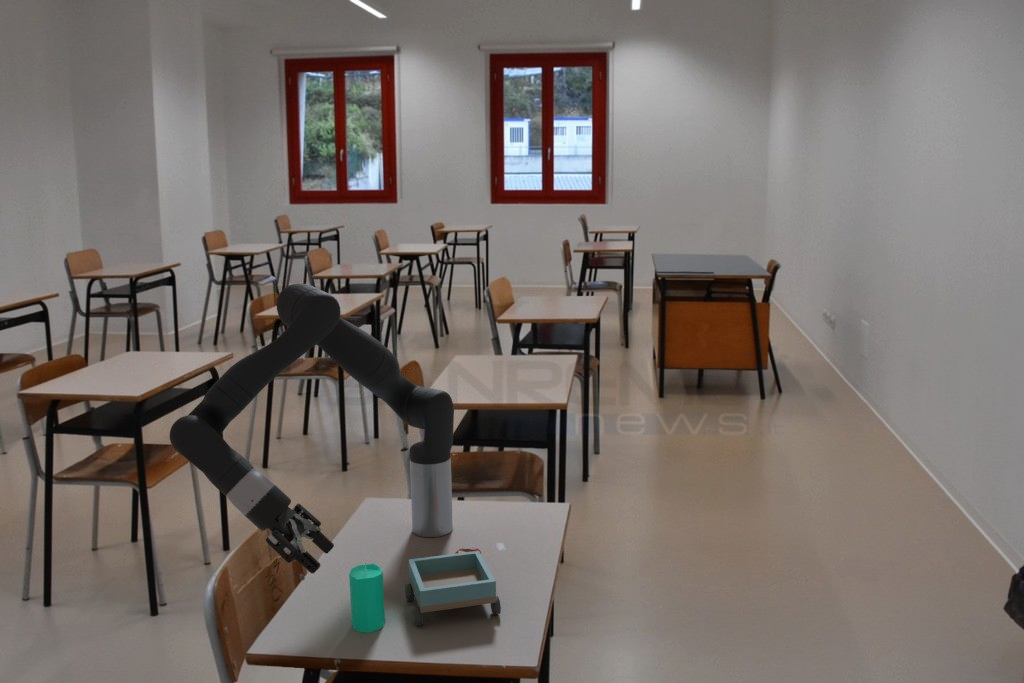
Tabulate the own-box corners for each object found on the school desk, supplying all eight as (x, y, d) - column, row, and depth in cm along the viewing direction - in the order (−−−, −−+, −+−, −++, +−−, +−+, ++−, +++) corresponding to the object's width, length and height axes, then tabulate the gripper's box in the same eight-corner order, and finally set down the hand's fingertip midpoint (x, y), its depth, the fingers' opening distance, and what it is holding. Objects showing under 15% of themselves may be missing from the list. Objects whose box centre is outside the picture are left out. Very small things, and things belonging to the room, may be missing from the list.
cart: (405, 595, 184) (403, 560, 182) (484, 585, 188) (483, 550, 186) (416, 629, 171) (415, 591, 169) (501, 617, 174) (500, 580, 173)
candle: (363, 614, 177) (359, 554, 175) (391, 619, 175) (388, 559, 172) (345, 629, 172) (342, 567, 169) (374, 634, 169) (371, 572, 167)
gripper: (257, 499, 163) (326, 563, 164) (284, 471, 177) (348, 530, 178) (230, 527, 164) (298, 590, 165) (259, 498, 178) (322, 556, 179)
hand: (324, 559), depth 172 cm, fingers open, 8 cm apart
